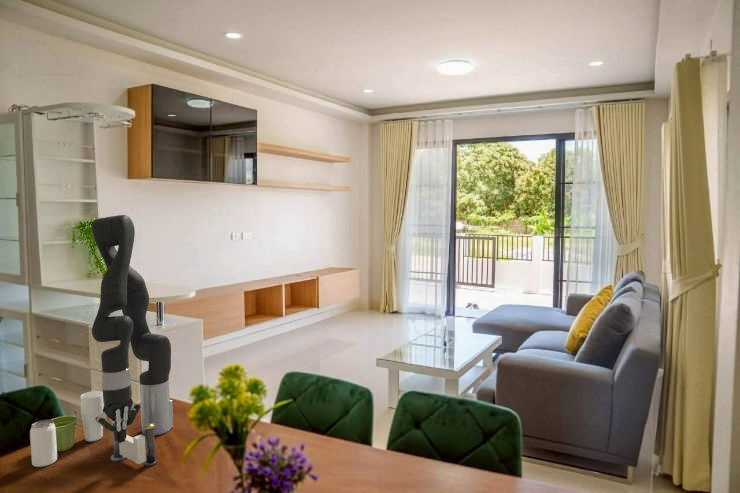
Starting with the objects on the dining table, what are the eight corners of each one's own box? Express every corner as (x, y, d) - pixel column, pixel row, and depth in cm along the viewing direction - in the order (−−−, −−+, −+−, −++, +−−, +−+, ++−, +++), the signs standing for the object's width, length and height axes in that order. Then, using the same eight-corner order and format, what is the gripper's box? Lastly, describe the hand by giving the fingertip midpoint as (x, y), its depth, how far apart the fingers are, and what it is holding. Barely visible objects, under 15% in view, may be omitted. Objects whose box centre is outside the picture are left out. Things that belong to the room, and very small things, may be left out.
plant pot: (41, 448, 166) (39, 421, 165) (73, 438, 172) (72, 413, 172) (50, 457, 159) (48, 430, 159) (83, 447, 166) (82, 420, 165)
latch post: (152, 459, 157) (151, 421, 156) (160, 462, 155) (158, 424, 154) (141, 464, 154) (140, 425, 153) (149, 467, 152) (147, 428, 151)
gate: (119, 454, 156) (117, 430, 156) (126, 451, 158) (125, 427, 158) (138, 464, 150) (137, 439, 150) (145, 461, 152) (144, 436, 152)
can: (30, 469, 152) (28, 429, 151) (33, 460, 158) (30, 421, 157) (56, 464, 155) (54, 425, 154) (58, 455, 161) (55, 417, 160)
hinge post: (122, 452, 162) (121, 421, 161) (132, 456, 159) (130, 424, 159) (107, 458, 158) (105, 426, 157) (116, 463, 155) (114, 430, 154)
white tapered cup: (95, 443, 168) (93, 398, 167) (77, 442, 170) (74, 397, 168) (110, 435, 175) (107, 391, 174) (92, 433, 176) (90, 390, 175)
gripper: (131, 375, 158) (134, 430, 160) (87, 388, 148) (91, 447, 149) (145, 379, 154) (148, 436, 156) (100, 394, 143) (105, 454, 145)
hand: (120, 441), depth 152 cm, fingers closed
